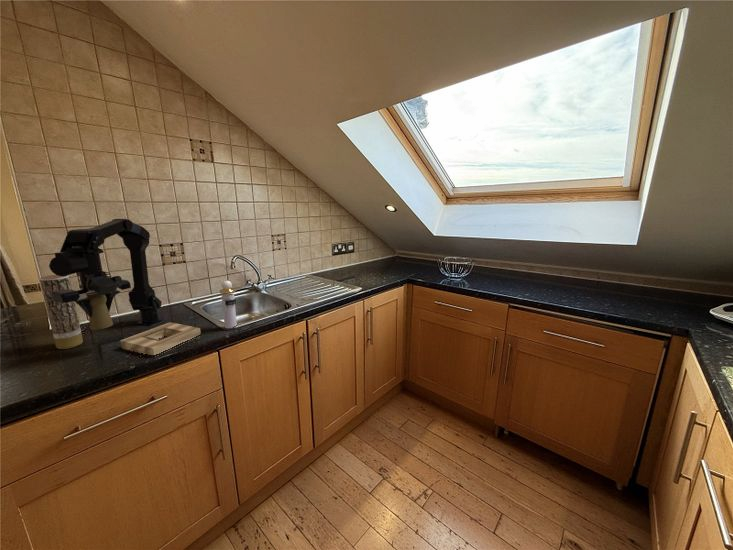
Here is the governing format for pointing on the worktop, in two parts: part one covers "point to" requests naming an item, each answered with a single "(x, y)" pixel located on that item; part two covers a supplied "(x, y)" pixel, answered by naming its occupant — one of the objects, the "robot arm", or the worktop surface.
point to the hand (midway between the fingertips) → (99, 314)
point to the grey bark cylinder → (61, 313)
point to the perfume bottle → (228, 305)
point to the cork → (99, 312)
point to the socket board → (151, 344)
